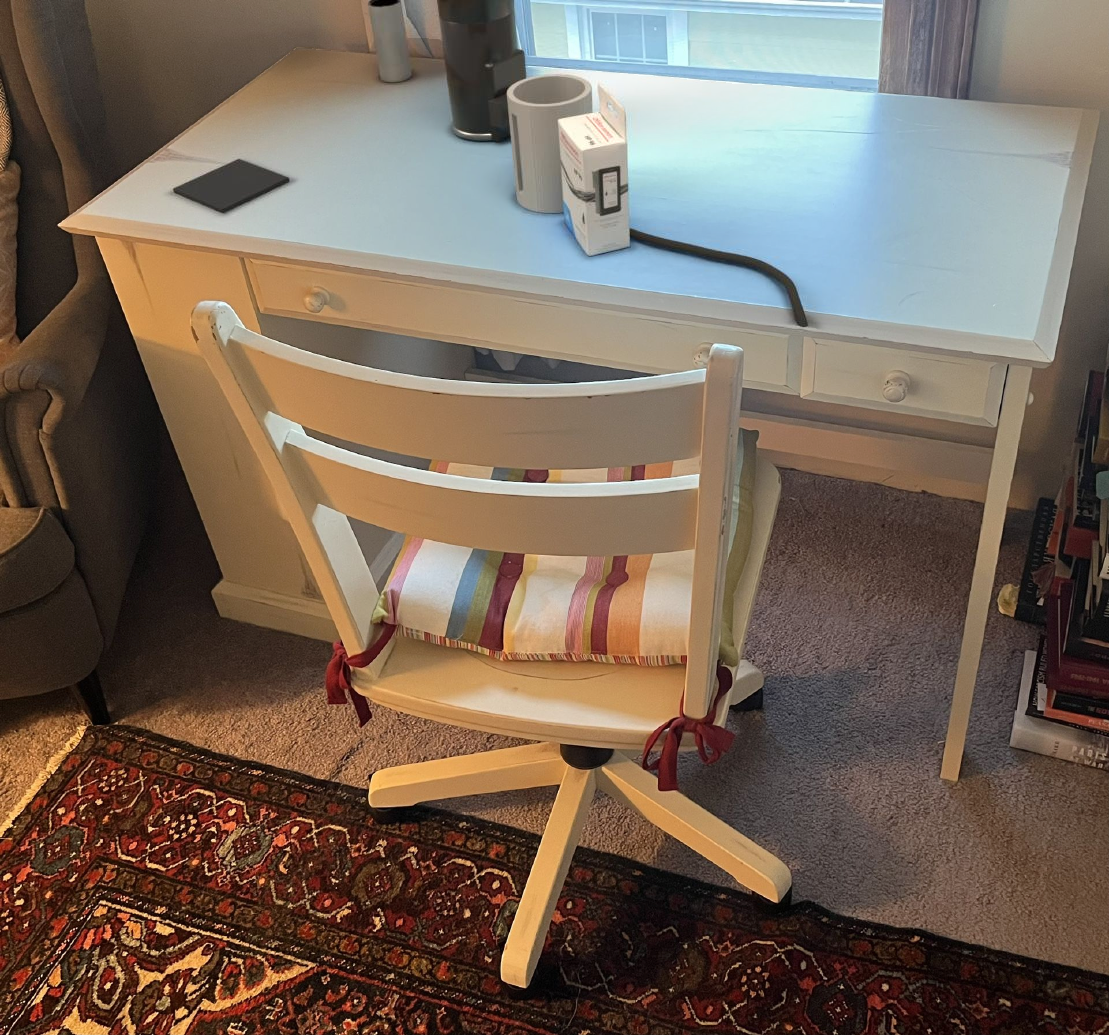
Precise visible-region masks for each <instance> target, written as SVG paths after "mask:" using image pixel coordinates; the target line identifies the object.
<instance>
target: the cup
mask: <svg viewBox="0 0 1109 1035" xmlns="http://www.w3.org/2000/svg"><path fill="white" fill-rule="evenodd" d="M507 101H508V112H509V123H510V133H511V136H510V144H511V153H512V154H511V155H512V163H513V174H514V175H513V176H514V184H515V194H516V201H517V203H518V204H519V205H520V206H521V207H523V208H524V209H526V210H529V211H532V212H537V213H543V214H560V213H561V214H562V213H564V204H563V188H562V172H561V156H560V143H559V128H558V120H559V119H562V118H567V117H572V116H579V115H584V114H589V113H594V108H593V88H592V84H591V82H589V81H588V80H586V79H585V78H583V77H581V76H577V75H573V74H572V75H571V74H564V73H563V74H562V73H560V74H559V73H548V74H547V73H546V74H540V75H535V76H530V77H527V78H526V79H523V80H521V81H518V82H516V83H515V84H513V85H512V86H510V88H509V89H508V90H507Z"/></svg>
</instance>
